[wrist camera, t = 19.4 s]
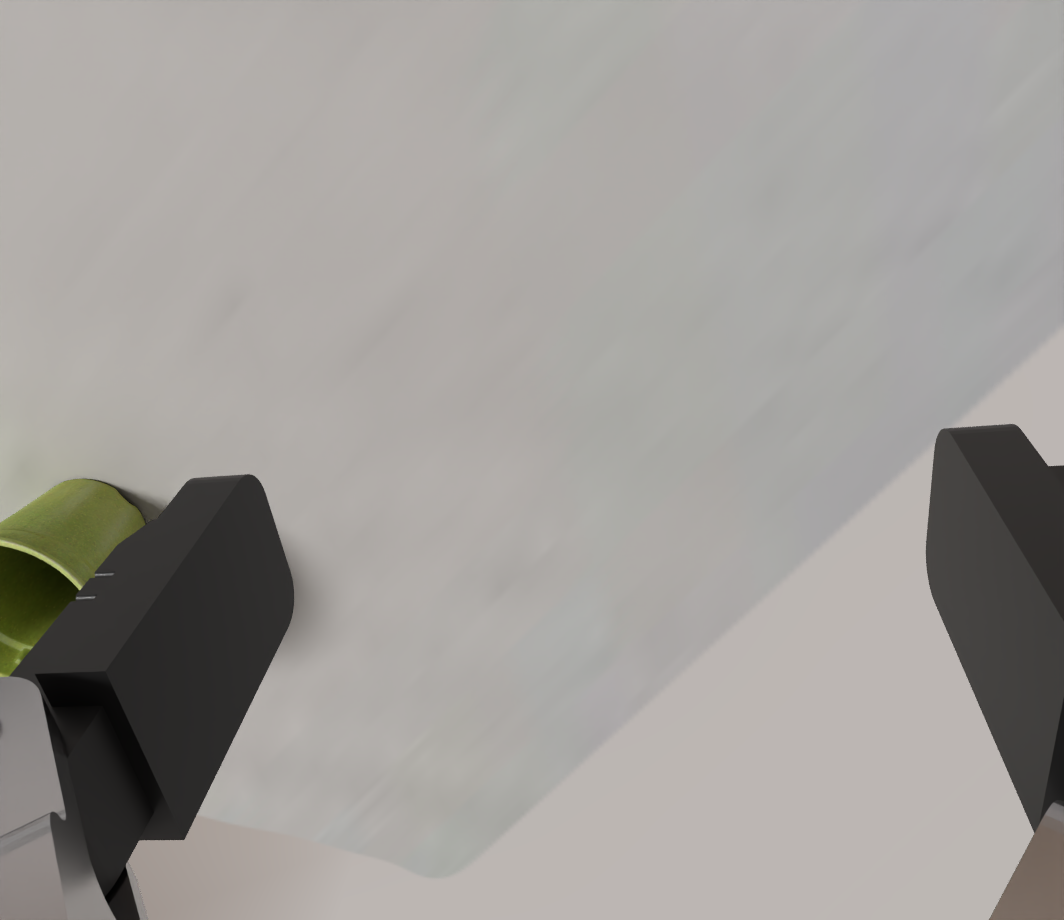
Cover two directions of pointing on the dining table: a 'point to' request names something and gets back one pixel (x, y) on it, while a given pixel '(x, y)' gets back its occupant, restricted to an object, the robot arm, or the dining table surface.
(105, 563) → the robot arm
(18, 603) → the plant pot
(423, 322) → the dining table surface
